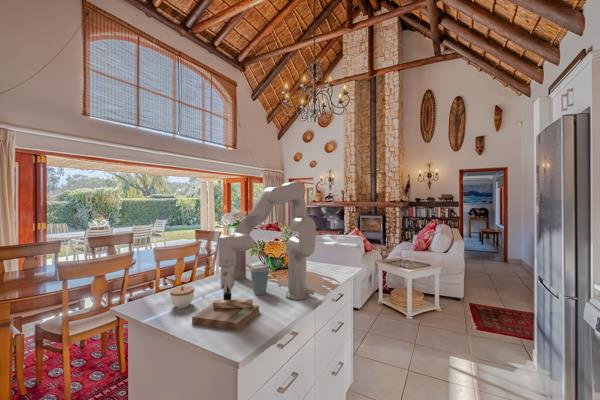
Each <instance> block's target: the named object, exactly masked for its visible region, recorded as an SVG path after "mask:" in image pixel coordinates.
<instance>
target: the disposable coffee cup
mask: <svg viewBox="0 0 600 400" xmlns="http://www.w3.org/2000/svg"><path fill="white" fill-rule="evenodd" d="M270 270H271V268H270V265H269V264H256V265H253V266H251V267H250V276H251V282H252V291H253V293H254V295H256V296H257V295H258V296H261V295H265V294H266V292H267V287H268V280H269V274H270Z"/></svg>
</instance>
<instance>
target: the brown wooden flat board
mask: <svg viewBox="0 0 600 400" xmlns="http://www.w3.org/2000/svg"><path fill="white" fill-rule="evenodd" d="M259 313H260V305H258V304H257V305H256V304H253V306H252V308H213V302H212V303H211V304H210V305H208V306H206V307H205V308H203V309H201V310H200V311H198V312H197V313H196V314H194V315H192V316H191V324H192V325H196V324H197V326H203V327H212V328H218V329H225V330H232V331H241V330H243V329H244V328H245V326H247V325H248V324H249V322H250V321H252V320H253V319H254V318H255V317H256V316H257V315H258V314H259Z"/></svg>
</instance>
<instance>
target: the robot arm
mask: <svg viewBox="0 0 600 400" xmlns="http://www.w3.org/2000/svg"><path fill="white" fill-rule="evenodd" d="M306 191H307V189H306V187H305V185H304V183H302V182H301V181H289V182H284V183H283V184H282V185H279V186H268V187H266V188H265V189H264V190H263V191H262V192H261V194H260V195H259V197H258V199H257V201H256V202H255V204H254V205H253V207H252V208H251V210H250V211H249V213H248V214H247V215H246V216H245V217H244V218H243V219H242V220H240V221H241V222H240V223H239V224H238V226H237V227H236V228H235V229H234V230H235V231H234V232H233V234H223V235H222V234H221V235H220V236H218V240H217V241H218V244H217V245H218V246H217V247H218V250H217V251H218V254H217V255H218V257H217V258H218V267H219V268H220V289H221V290H223V300H232V289H233V288H234V285H235V283H236V282H235V281H236V280H235V277H234V266H235V265H236V259H235V251H236V250H239V251H249V250H251V249H252V247H253V246H254V239H253V237H252V236H251V235H250V234H251V233H252V232H253V231H254V229H255V228H257V227H258V226H259V225H261V224H263V223H264V222H266V221H267V219H268V218H269V216H270V213H271V212H272V211H273V209H274V207H275V206H276V205H282V204H286V203H288V204H289V229H290V231H291V232H292V233H295V234H298V235H293V236H292V235H291V236H290V237H289V238H288V239H287V241H286V252H287V265H288V267H287V274H288V277H287V278H288V279H287V280H288V291H286V292H285V297H286V298H287V299H289V300H295V301H299V300H301V301H302V300H305V299H308V298H309V297H310V295H311V296H312V295H313V296H314V295H315V290H314V289H311V288H310V289H309V286H307V258H310V257H311V256H312V255H313V254H314V252H315V249H316V235H317V226H316V223H315V220H314V219H313V218H312V217H311V216H307V204H306V201H305V198H304V195H305V194H306Z"/></svg>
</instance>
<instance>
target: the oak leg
mask: <svg viewBox="0 0 600 400" xmlns="http://www.w3.org/2000/svg"><path fill="white" fill-rule="evenodd" d="M212 303H213V308H252V306H253V305H254V300H253V299H251V298H250V299H231V300H224V299H214V300H213V302H212Z"/></svg>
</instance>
